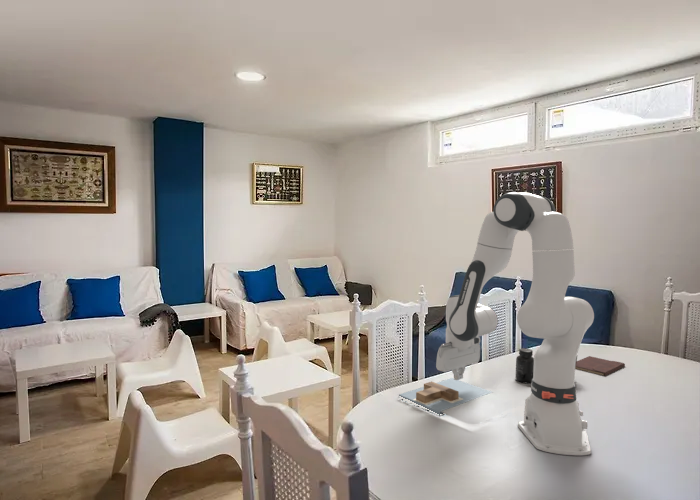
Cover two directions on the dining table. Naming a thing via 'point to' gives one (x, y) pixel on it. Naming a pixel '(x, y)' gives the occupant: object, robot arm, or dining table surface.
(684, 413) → the dining table surface
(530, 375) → the supplement bottle
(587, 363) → the notebook
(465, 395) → the board
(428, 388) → the t block
